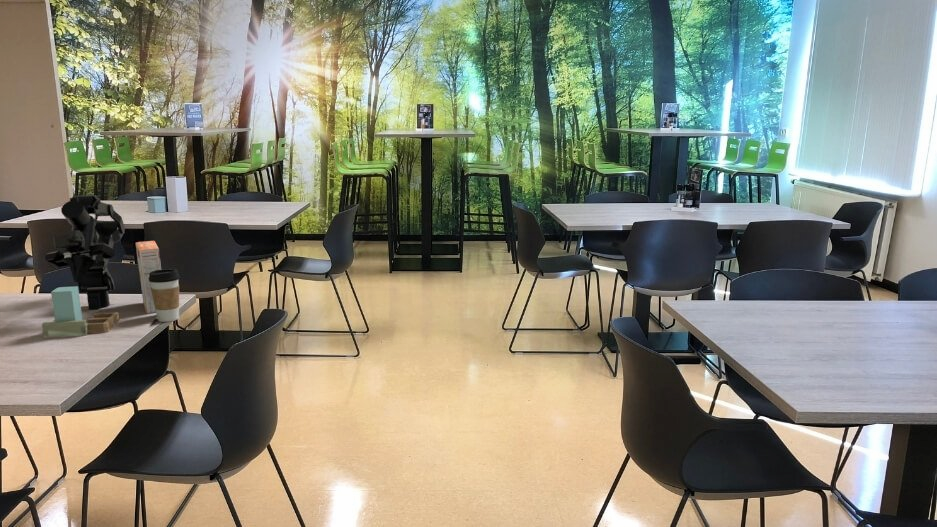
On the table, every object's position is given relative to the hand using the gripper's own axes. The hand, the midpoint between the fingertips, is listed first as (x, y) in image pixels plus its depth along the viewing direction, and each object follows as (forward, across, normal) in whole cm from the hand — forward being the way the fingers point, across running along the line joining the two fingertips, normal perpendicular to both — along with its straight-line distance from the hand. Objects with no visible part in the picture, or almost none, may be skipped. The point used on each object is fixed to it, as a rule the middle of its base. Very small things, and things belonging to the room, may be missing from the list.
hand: (76, 282), depth 188 cm
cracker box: (+4, +10, +22) cm, 24 cm away
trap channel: (+14, +2, +3) cm, 15 cm away
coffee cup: (+10, +19, +16) cm, 27 cm away
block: (+15, +1, -1) cm, 15 cm away
